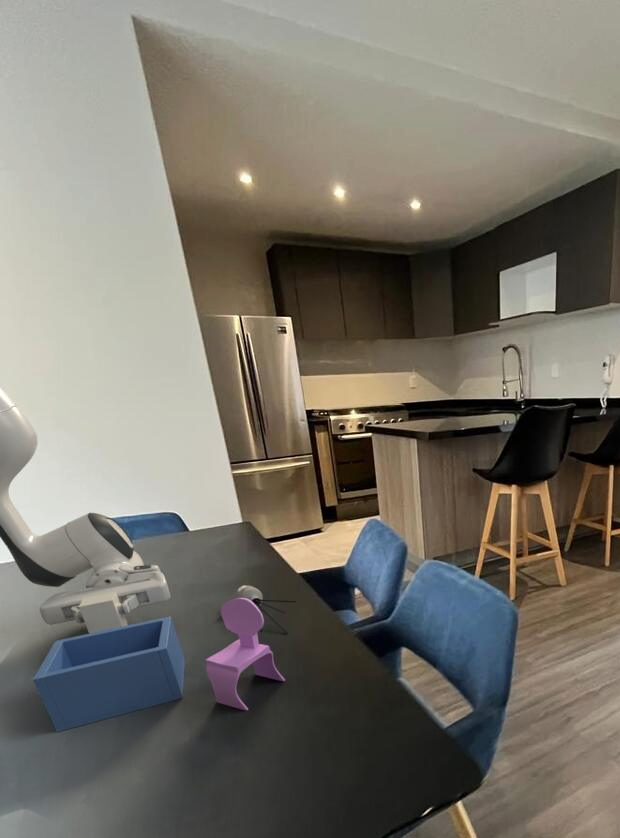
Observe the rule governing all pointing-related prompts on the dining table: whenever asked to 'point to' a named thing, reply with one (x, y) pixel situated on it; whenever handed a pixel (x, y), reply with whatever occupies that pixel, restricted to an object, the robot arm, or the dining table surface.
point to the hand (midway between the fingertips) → (102, 614)
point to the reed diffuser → (257, 599)
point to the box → (111, 673)
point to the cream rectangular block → (102, 612)
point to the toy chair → (240, 652)
